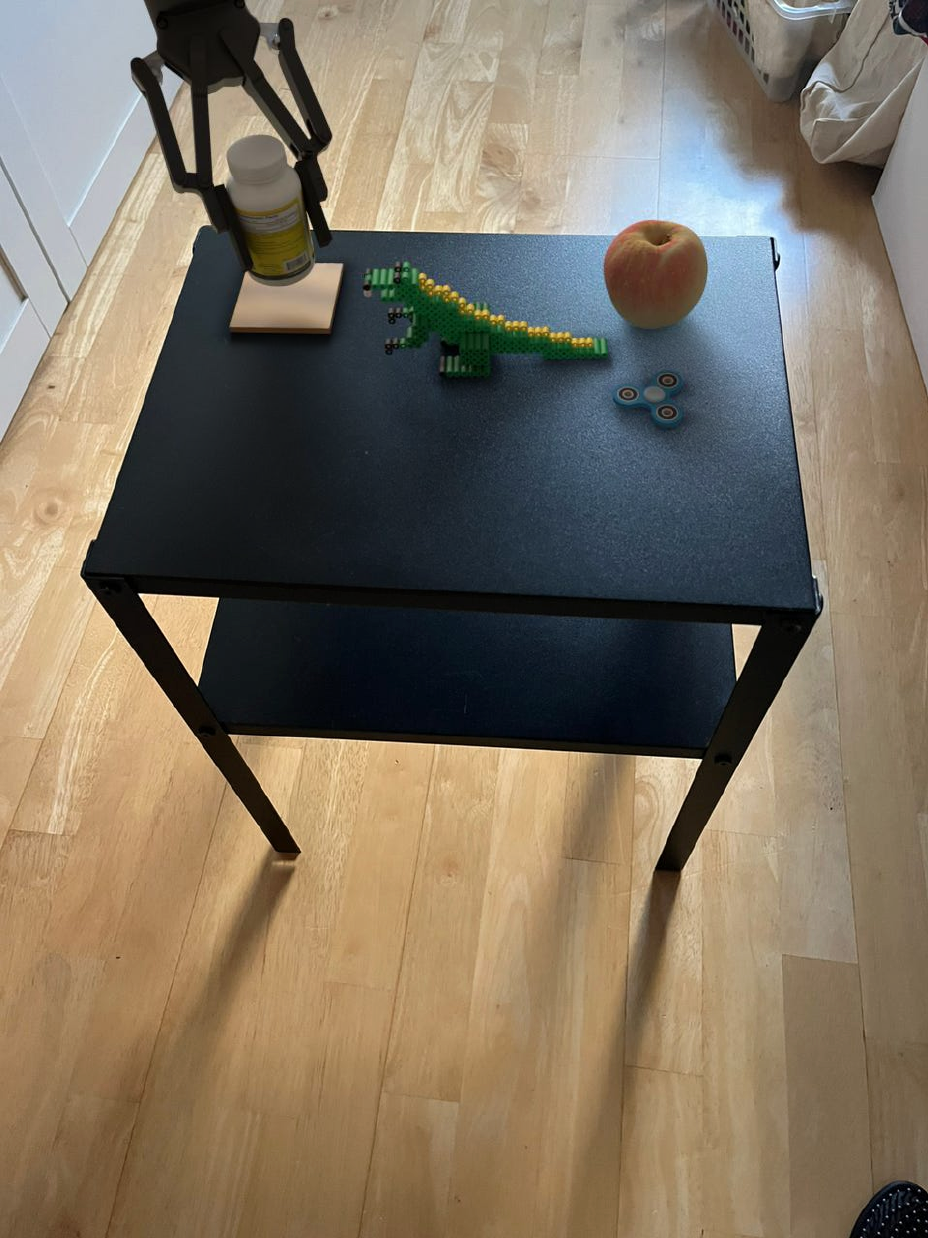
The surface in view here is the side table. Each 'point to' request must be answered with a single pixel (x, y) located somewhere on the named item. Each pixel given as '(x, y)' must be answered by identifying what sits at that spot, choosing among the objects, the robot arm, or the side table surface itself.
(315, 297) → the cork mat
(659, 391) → the toy
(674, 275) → the apple
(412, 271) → the green brick dinosaur
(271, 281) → the pill bottle
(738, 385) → the side table surface
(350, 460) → the side table surface
